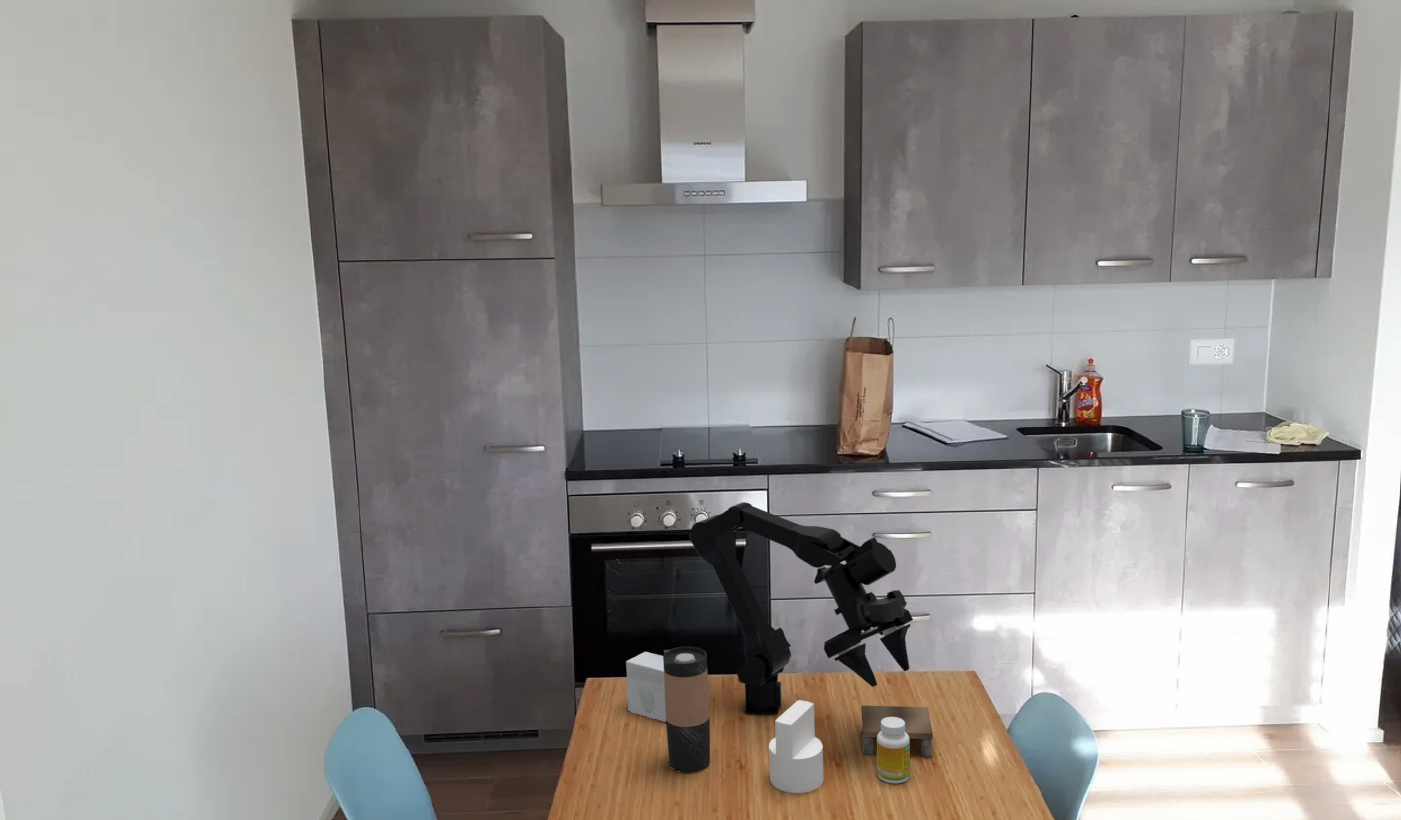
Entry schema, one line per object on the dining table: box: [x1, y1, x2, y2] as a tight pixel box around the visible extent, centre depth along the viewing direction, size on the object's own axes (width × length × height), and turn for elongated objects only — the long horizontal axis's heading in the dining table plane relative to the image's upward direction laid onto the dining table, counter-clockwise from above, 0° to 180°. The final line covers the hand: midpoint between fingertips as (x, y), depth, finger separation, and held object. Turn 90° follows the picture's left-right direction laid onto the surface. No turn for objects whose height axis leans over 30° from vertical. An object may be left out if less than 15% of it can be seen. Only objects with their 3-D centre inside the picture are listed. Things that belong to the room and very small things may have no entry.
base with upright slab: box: [768, 699, 824, 794], centre depth 169 cm, size 9×9×12 cm
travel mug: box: [662, 646, 711, 774], centre depth 175 cm, size 8×8×20 cm
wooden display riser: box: [861, 705, 934, 758], centre depth 180 cm, size 12×10×4 cm
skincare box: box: [625, 651, 666, 723], centre depth 196 cm, size 10×6×10 cm, turn 54°
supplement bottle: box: [876, 717, 911, 784], centre depth 169 cm, size 5×5×10 cm
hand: (891, 677), depth 175 cm, fingers open, 9 cm apart
